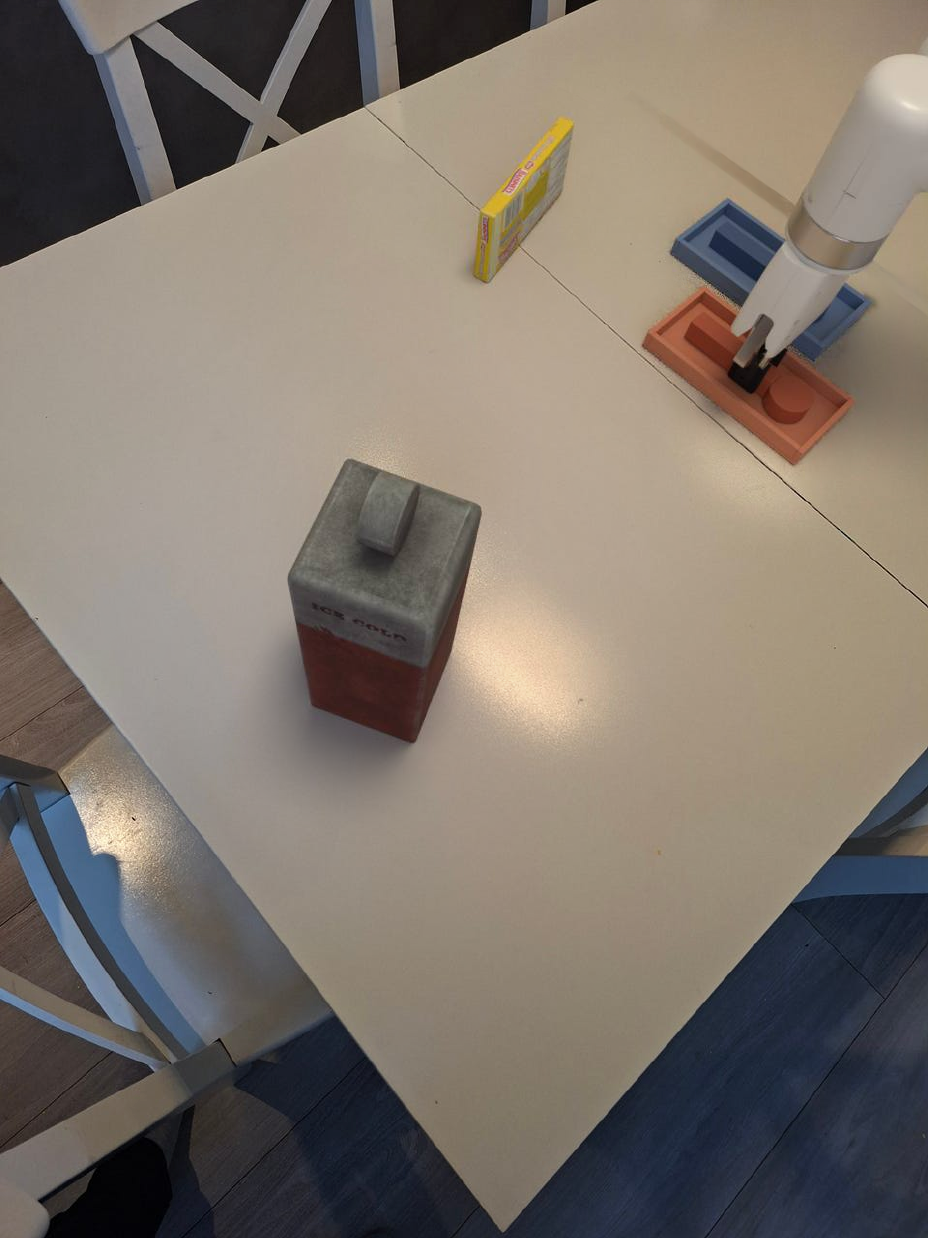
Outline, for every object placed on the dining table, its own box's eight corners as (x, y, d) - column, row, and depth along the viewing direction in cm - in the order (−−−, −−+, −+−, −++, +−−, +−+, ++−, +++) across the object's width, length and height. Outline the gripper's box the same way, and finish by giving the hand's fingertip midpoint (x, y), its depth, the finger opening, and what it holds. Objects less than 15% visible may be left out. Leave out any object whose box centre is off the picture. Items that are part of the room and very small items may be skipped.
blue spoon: (701, 251, 95) (708, 235, 93) (726, 231, 96) (733, 215, 94) (808, 330, 91) (818, 315, 89) (832, 309, 93) (842, 293, 91)
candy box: (545, 183, 97) (560, 113, 90) (562, 192, 97) (578, 122, 89) (470, 274, 91) (479, 208, 83) (488, 284, 91) (498, 218, 83)
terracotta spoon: (676, 342, 89) (683, 327, 87) (702, 320, 90) (710, 304, 88) (789, 431, 86) (799, 417, 84) (814, 406, 87) (825, 391, 85)
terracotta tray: (846, 412, 88) (856, 400, 86) (793, 465, 85) (803, 453, 83) (697, 299, 92) (703, 284, 91) (641, 345, 89) (647, 331, 87)
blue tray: (862, 315, 94) (872, 301, 92) (813, 361, 91) (822, 348, 89) (721, 212, 98) (727, 197, 96) (669, 252, 95) (675, 237, 93)
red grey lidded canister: (327, 601, 75) (305, 388, 49) (452, 647, 74) (495, 455, 49) (283, 695, 71) (233, 517, 46) (414, 744, 71) (438, 592, 45)
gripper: (853, 156, 75) (765, 313, 92) (743, 246, 69) (670, 396, 86) (927, 206, 73) (823, 357, 90) (820, 303, 68) (730, 445, 84)
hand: (749, 375), depth 88 cm, fingers closed on terracotta spoon, 2 cm apart
